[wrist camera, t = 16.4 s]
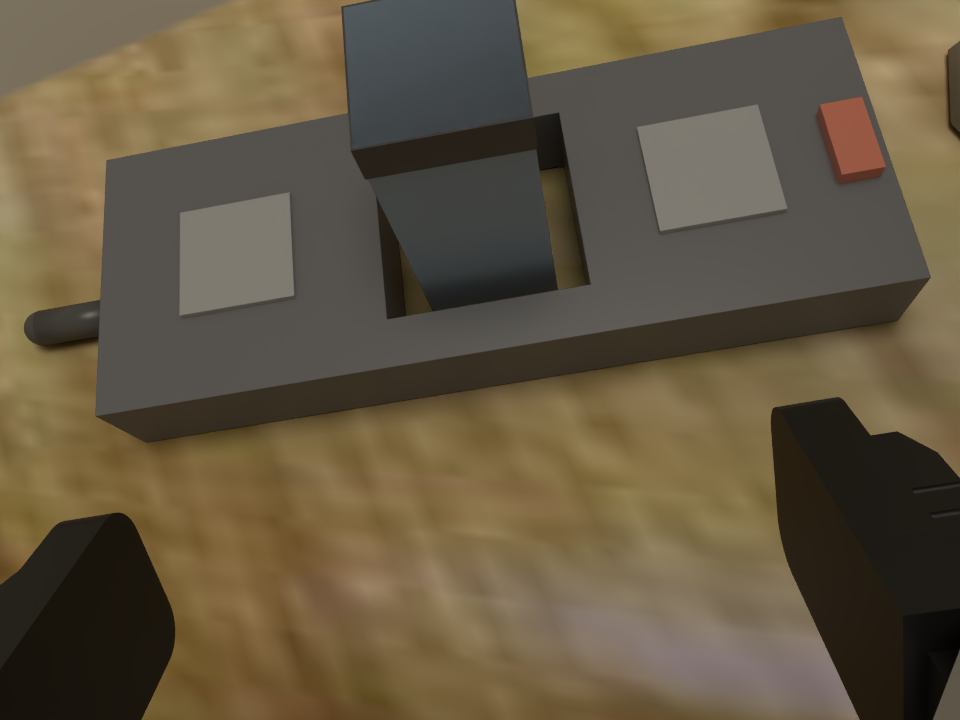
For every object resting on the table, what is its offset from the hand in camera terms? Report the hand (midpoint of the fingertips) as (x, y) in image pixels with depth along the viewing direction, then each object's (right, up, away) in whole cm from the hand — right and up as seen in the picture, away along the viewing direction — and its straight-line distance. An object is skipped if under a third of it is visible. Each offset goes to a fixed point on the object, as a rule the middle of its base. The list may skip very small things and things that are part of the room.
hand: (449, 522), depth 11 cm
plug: (+1, +5, +18) cm, 19 cm away
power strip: (-1, +5, +19) cm, 19 cm away
